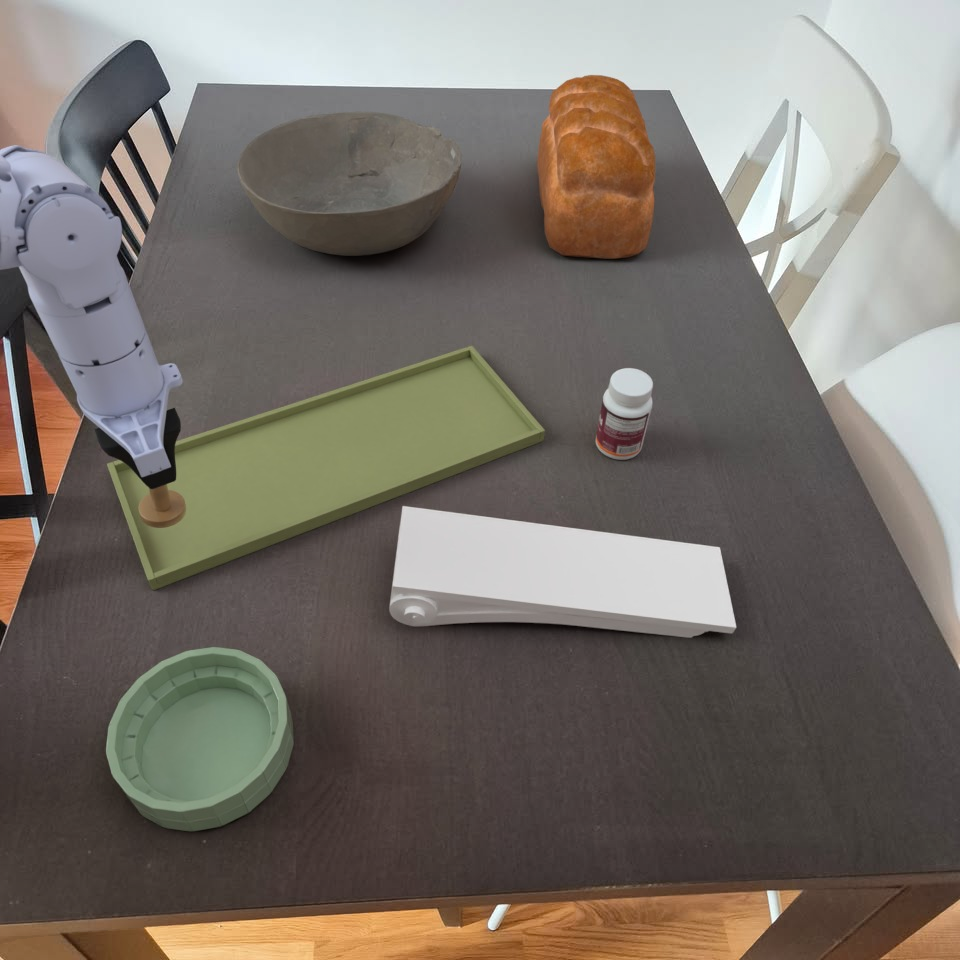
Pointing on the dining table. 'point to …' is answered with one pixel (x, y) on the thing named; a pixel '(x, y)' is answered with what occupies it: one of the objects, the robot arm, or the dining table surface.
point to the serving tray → (325, 460)
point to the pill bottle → (624, 414)
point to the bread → (596, 170)
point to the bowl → (350, 180)
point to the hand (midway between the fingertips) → (159, 474)
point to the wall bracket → (553, 577)
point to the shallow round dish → (201, 738)
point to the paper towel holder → (162, 507)
